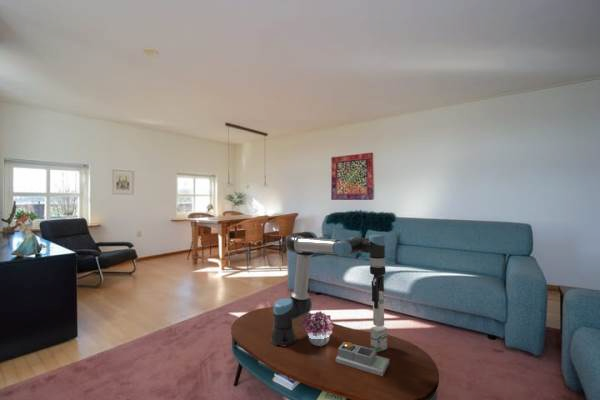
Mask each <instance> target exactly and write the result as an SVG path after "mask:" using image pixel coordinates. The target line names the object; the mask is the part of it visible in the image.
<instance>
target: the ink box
mask: <svg viewBox="0 0 600 400" xmlns="http://www.w3.org/2000/svg"><path fill="white" fill-rule="evenodd" d="M370 348H371V349H375V350H376V353H380V352H382V351H385V350H387V349H388V328H387V327H385V325H384V326H375V325H374V326H373V327H371V328H370Z"/></svg>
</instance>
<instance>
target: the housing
mask: <svg viewBox="0 0 600 400" xmlns="http://www.w3.org/2000/svg"><path fill="white" fill-rule="evenodd" d="M345 342H346V341H343V342H342V343H341V344H340V346H338V348H337V356H336V357H335V363H338V364H341V365H344V366H347V367H350V368H354V369H357V370H360V371H364V372H367V373H370V374H373V375H377V376H381V377H383V376H384V374H385V373H386V370H387V369H388V366H389V364H390V358H386V357H383V356H379V355H377V352H376V350H375V349H371V347H367V346H364V345H358V344H355V343H353V350H352V351H350V350H346V349H344V343H345Z"/></svg>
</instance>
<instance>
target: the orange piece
mask: <svg viewBox="0 0 600 400" xmlns="http://www.w3.org/2000/svg"><path fill="white" fill-rule="evenodd" d="M344 342H345V343H344V349H346V350H350V351H352V350H353V344H354V343H352V342H351V341H344Z"/></svg>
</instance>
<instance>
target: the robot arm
mask: <svg viewBox="0 0 600 400" xmlns="http://www.w3.org/2000/svg"><path fill="white" fill-rule="evenodd" d="M285 247H286V249H287V250H288V251H289V252H290V253H294V254H295V255H296V265H295V278H294V287H293V292H291V295H290V298H288V297H286V298H279V299H278V300H276V301H275V302H274V303H273V309H272V311H273V329H272V333H271V335H270V342H271V341H272V343H274V344H276V345H281V346H280V347H285V346H284V345H289V346H291V345H290V344H292V345H294V344H295V343H296V342H297V335H296V332H295V329H294V320H296V319H298V318H301V317H303V316H306V315H307V314H309V313H310V312H311V311H312V308H313V301H312V298H311V297H310V294H309V293H308V291H309V290H308V289H309V280H310V269H311V260H312V256H314V254H315V253H316V254H329V255H336V256H338V257H348V256H351V255H355V254H359V253H364V254H369V265H370V266H369V273H370V274H371V275H373V278H372V281H371V302H373V301H374V314H375V315H380V302H379V291H383V292H384V293H385V284H384V282H385V281H384V280H385V276H384V275H386V273H387V272H386V262H387V259H386V241H385V236H384V235H382V234H370V235H369V237H368V238H366V237H359V236H352V237H350V238H349V239H333V238H332V239H330V238H318V236H317V234H316V233H315V232H312V231H301V232H294V233H290V234H289V235H288V236H287V238H286V239H285ZM385 297H386V296H385V295H384V298H385ZM295 341H296V342H295ZM294 342H295V343H294ZM272 343H271V344H272ZM293 343H294V344H293ZM274 344H273V345H274ZM276 345H275V346H276ZM282 345H283V346H282Z"/></svg>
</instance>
